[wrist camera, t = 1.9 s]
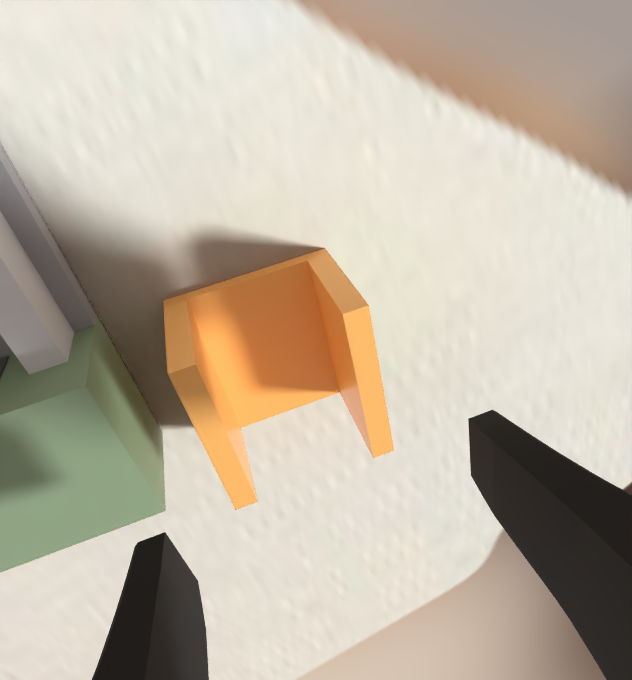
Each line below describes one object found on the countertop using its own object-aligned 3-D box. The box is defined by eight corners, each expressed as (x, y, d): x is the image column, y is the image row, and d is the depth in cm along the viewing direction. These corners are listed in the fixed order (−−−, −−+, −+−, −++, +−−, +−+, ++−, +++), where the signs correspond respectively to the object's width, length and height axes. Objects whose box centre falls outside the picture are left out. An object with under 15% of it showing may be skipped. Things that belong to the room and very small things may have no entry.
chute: (219, 423, 19) (235, 509, 15) (162, 298, 15) (167, 373, 12) (351, 376, 19) (394, 450, 16) (323, 246, 16) (368, 305, 13)
